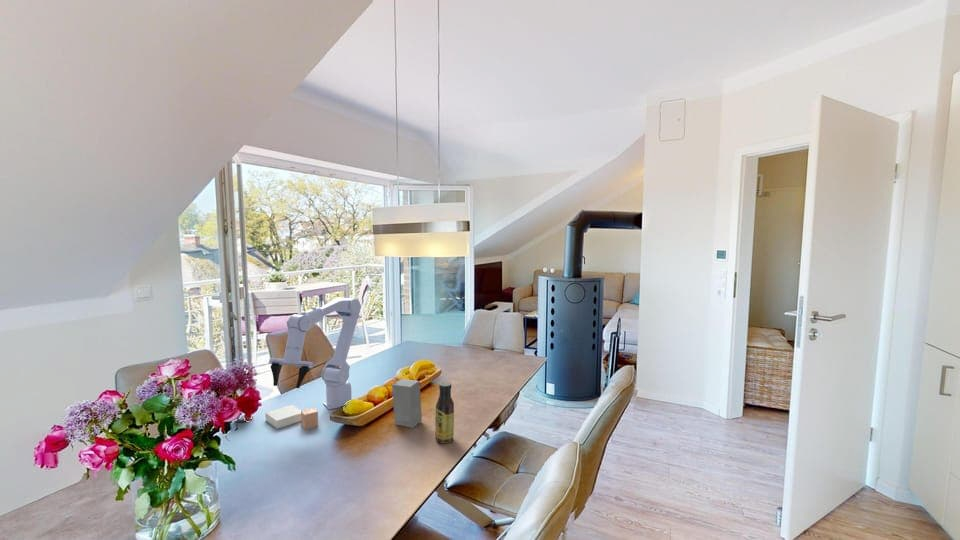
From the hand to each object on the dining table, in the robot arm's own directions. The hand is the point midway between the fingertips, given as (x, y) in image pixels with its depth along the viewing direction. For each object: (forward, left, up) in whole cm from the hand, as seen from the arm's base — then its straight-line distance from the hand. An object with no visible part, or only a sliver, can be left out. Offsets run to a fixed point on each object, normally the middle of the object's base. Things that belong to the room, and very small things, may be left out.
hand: (286, 386), depth 146 cm
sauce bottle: (-40, +41, -16) cm, 59 cm away
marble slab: (-1, -8, -16) cm, 18 cm away
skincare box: (-36, +22, -16) cm, 45 cm away
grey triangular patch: (+11, -18, -16) cm, 27 cm away
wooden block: (-7, +2, -16) cm, 17 cm away
